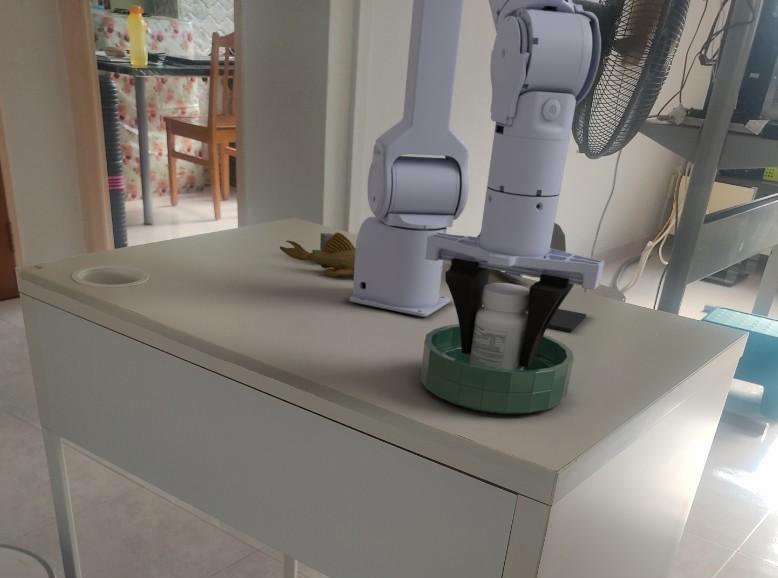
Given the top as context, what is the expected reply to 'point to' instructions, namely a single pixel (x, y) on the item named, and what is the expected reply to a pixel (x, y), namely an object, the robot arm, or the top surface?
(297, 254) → the fish
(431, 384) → the bowl
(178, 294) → the top surface
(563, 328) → the mat
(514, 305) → the pill bottle
